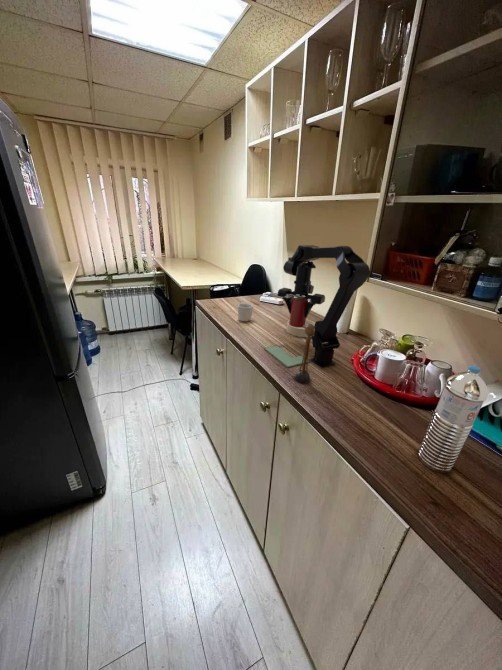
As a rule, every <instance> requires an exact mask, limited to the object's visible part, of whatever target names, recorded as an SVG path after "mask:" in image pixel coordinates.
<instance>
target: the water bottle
mask: <svg viewBox="0 0 502 670" xmlns="http://www.w3.org/2000/svg"><path fill="white" fill-rule="evenodd" d="M481 371H482V368H480V367H479V366H477V365H474V364H473V365H468V369H467V371H464V372H463V371H462V372H458V373H455V374H453V375H451V376H449V377H448V378H447V379H446V381H445V384H444V389H443V391H442V393H441V396H440V398H439V401H438V402H437V406H436V407H435V409H434V411H433V414H432V416H431V418H430V421H429V423H428V426H427V428H426V431H425V433H424V435H423V438H422V440H421V443H420V445H419V448H418V452H417V456H418V459H419V460H420V462H421V463H422V464H423V465H424V466H425V467H426V468H428V469H429V470H431V471H434V472H436V473H440V474H446V473H449V472H450V471H452V469H453V467H454V466H455V464H456V461H457V460H458V458H459V455H460V454H461V452H462V449H463V447H464V445H465V443H466V441H467V439H468V437H469V435H470V432H471V431H472V429H473V428H474V427H473V426H474V423H475V421H476V419H477V416H478V415H479V413H480V411H481V408H482V406H483V404H484V402H485V401H486V400H487V398H488V396H489V390H488V387H487V384H486V382H485V381H484V380H483V378H482V377H480V376H479V375H480V373H481Z"/></svg>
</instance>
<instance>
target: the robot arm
mask: <svg viewBox="0 0 502 670" xmlns="http://www.w3.org/2000/svg"><path fill="white" fill-rule="evenodd" d="M319 259H335V260H336V261H335V262H336V268H337V270H338V272H339V275H338V276H339V277H338V284H339V286H338V289H337V291H336V293H335V295H334V297H333V299H332V301H331V303H330V305H329V308H328V310H327V312H326V313H325V316H324V318H323V319H322V320H316V321H315V325H314V328H315V333H314V335H313V336H312V337H311V343H312V348H313V349H314V355H313V357H312V358H311V359H310V361H312V362H313V363H315V364H316V365H318V366H319V367H320V368H325V367H329V366H333V365H335V363H336V362H334V361H333V358H334V354H335V349H339V348H340V346H341V343H340V341H339V338H338V336H337V333H338V323H339V321H340V320H341V318H342V316H343V314H344V312H345V310H346V308H347V307H348V304H349V302H350V300H351V299H352V297H353V295H354V293H355V291H357V290H358V289H360V288H361V287H362V286H363V285H364V284H365V282H366V281H368V279H369V277H370V275H371V270H370V267H369V266H370V265H368V263H366V262H365V260H364V259H363V258H362V257H361V256H359V254H357V253H356V252H354V250H353V248H352V247H351V246H349V245H337V246H323V247H322V246H321V247H320V246H317V245H313V244H300V245H298V246H297V248H296V250H295V251H294V253H293V254H292V256H291V257H288V258H287V260H286V261H285V263H284V265H283V269H282V270H283V272H284V273H285V274H288V275H291V276H294V277H295V280H294V281H293V284H294V289H293V290H292V288H288V287H282V288H279V289H278V290H277V294H276V296H277V297H281V298H282V300H284V303H285V304H286V307H287V310H288V313H289V314H290V313H291V305H292V298H295V297H299V298H304V299H308V303H307V305H306V312H305V318H306V319H307V318H308V315H310V312H311V310H312V308H313V307H314V306H315V305H322V304H323V303H325V301H326V295H325V294H321V293H314V289H315V286H314V285H313V284H312V280H311V278H312V269H316V268H317V267H316V265H315V264H314V261H316V260H319ZM313 293H314V294H313Z"/></svg>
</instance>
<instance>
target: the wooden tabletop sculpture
mask: <svg viewBox="0 0 502 670" xmlns="http://www.w3.org/2000/svg"><path fill="white" fill-rule="evenodd" d="M303 328H304V329H305V333H306V335H308V337H305V344H304V351H303V356H302V357H303V360H304V362H303V360H302V363H301V364H300V367H299V369H298V371H297V372H296V373H295V378H294V379H295V381H296V382H298V383H300V384H308V383H309V382H310V378H311V376H310V373H309V372H308V363H309V362H308V361H309V355H310V354H309V353H310V347H311V342H312V337H310V336H313V335H314V333H315V328H314V326H313V325H312V324H308V325H303ZM306 360H307V363H306Z"/></svg>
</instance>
